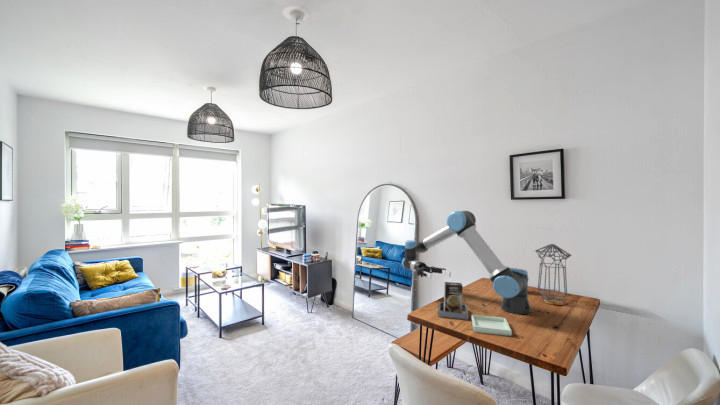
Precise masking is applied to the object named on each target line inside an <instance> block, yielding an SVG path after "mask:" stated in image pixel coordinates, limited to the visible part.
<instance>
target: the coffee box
mask: <svg viewBox="0 0 720 405" xmlns="http://www.w3.org/2000/svg"><path fill="white" fill-rule="evenodd" d="M443 283H444V284H443V302H444V308H443V311H450V312H459V313H463V310H462V304H463V292H464V291H463V289H464V288H463V287H464V286H463V284H462V283H461V282H450V281H443Z"/></svg>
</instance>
